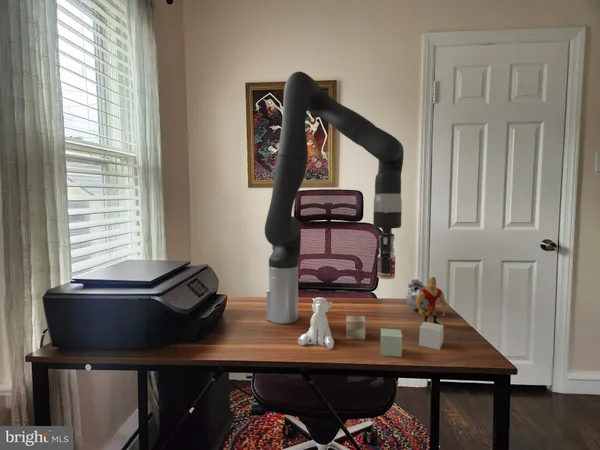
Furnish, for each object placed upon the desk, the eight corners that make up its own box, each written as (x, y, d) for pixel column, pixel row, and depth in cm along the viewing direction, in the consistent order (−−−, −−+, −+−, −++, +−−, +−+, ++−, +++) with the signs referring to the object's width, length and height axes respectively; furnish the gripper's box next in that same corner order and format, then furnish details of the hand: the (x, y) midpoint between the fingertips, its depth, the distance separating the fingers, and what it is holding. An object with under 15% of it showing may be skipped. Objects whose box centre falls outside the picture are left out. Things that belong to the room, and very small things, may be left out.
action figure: (419, 327, 106) (420, 277, 105) (414, 323, 110) (415, 275, 109) (449, 325, 107) (450, 277, 106) (442, 321, 111) (444, 274, 110)
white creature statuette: (297, 345, 92) (297, 300, 91) (305, 334, 101) (305, 292, 100) (332, 349, 90) (333, 303, 89) (338, 337, 98) (338, 294, 97)
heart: (442, 315, 115) (440, 278, 117) (415, 316, 114) (413, 279, 115) (426, 311, 125) (425, 277, 127) (401, 312, 124) (400, 278, 125)
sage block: (380, 355, 87) (381, 335, 86) (380, 347, 92) (380, 328, 91) (401, 357, 86) (402, 337, 85) (400, 348, 91) (400, 329, 90)
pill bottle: (395, 280, 96) (396, 249, 95) (377, 279, 97) (378, 248, 96) (394, 276, 101) (395, 247, 100) (377, 275, 101) (377, 246, 101)
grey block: (419, 345, 93) (419, 327, 92) (423, 339, 97) (424, 321, 96) (439, 350, 90) (439, 330, 90) (442, 343, 94) (443, 325, 94)
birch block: (346, 339, 97) (346, 321, 97) (346, 332, 102) (346, 315, 102) (365, 339, 96) (365, 322, 96) (363, 333, 101) (364, 316, 101)
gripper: (375, 209, 105) (374, 266, 106) (371, 210, 92) (369, 275, 93) (402, 209, 103) (400, 267, 104) (401, 211, 89) (399, 277, 91)
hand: (386, 271), depth 99 cm, fingers closed on pill bottle, 4 cm apart
